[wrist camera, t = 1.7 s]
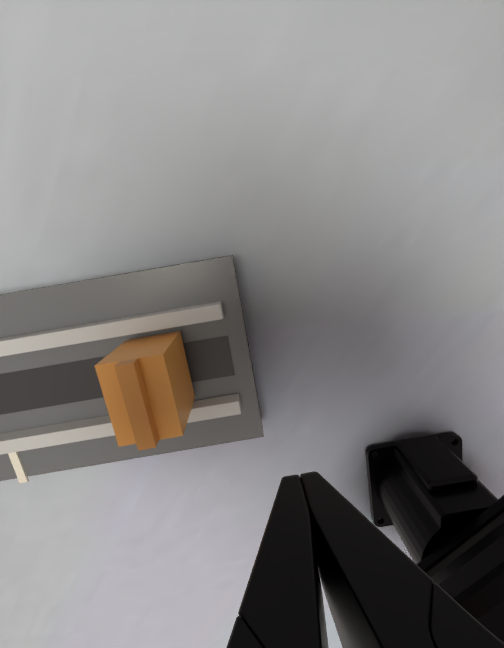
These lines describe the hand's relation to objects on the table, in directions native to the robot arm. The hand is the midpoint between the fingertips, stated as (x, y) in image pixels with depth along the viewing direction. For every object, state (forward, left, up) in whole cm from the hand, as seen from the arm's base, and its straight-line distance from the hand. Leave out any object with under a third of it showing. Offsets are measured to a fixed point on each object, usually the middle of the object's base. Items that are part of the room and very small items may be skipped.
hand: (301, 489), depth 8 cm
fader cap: (0, +6, -11) cm, 12 cm away
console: (0, +12, -13) cm, 18 cm away
